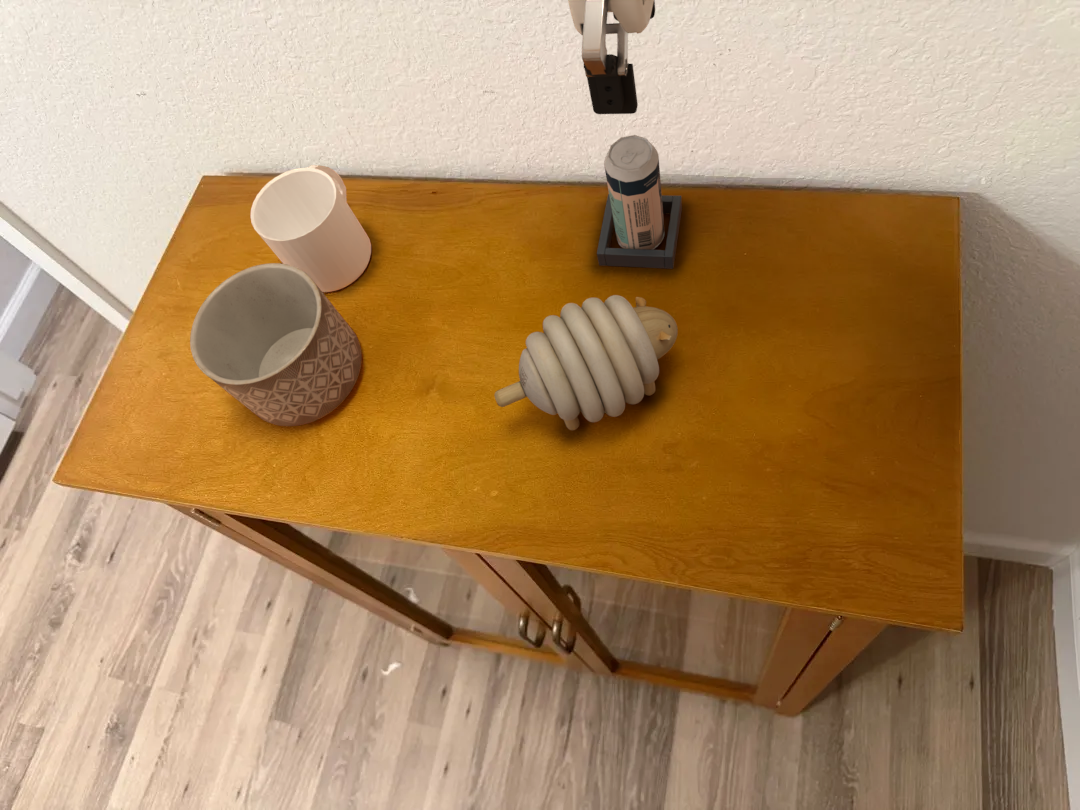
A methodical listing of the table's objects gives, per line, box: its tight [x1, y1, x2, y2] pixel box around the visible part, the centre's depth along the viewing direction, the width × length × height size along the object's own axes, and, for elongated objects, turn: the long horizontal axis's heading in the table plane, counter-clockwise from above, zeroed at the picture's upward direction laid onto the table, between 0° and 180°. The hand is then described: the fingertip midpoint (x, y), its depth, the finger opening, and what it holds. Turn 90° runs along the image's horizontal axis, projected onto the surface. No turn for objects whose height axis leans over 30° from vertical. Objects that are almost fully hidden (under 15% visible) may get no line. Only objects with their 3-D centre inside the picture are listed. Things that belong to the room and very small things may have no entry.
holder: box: [596, 193, 683, 270], centre depth 77 cm, size 7×7×2 cm
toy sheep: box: [494, 294, 679, 431], centre depth 66 cm, size 11×17×11 cm, turn 116°
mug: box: [249, 164, 372, 293], centre depth 81 cm, size 12×9×9 cm
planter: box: [189, 262, 363, 427], centre depth 74 cm, size 13×13×10 cm
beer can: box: [603, 134, 665, 250], centre depth 72 cm, size 5×5×12 cm
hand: (625, 62), depth 58 cm, fingers open, 9 cm apart
